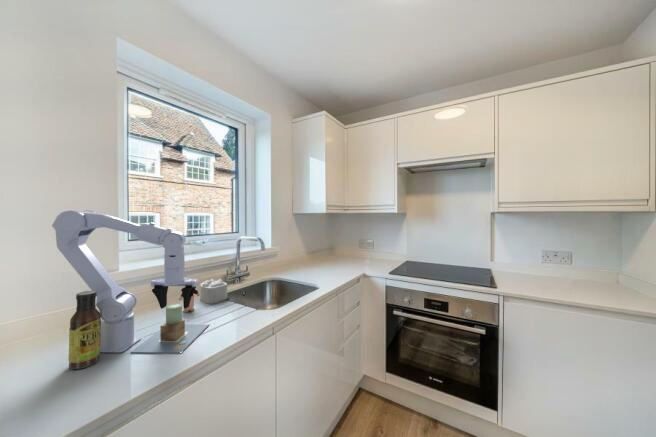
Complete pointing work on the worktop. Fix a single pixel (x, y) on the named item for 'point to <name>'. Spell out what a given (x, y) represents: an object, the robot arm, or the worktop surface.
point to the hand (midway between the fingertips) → (175, 307)
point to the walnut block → (172, 331)
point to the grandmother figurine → (190, 301)
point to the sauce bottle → (84, 332)
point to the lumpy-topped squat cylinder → (213, 291)
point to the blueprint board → (171, 346)
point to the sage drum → (173, 314)
